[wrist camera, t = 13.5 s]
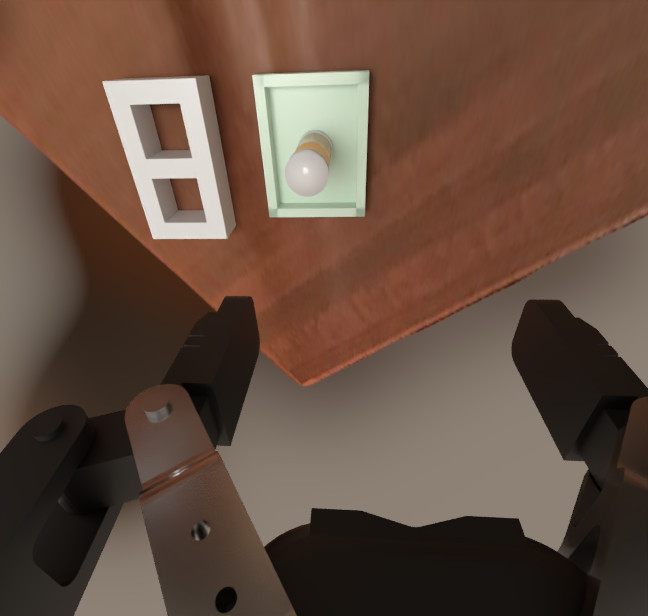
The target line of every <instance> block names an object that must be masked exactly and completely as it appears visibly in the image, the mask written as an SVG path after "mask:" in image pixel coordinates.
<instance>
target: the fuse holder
mask: <svg viewBox="0 0 648 616" xmlns="http://www.w3.org/2000/svg"><path fill="white" fill-rule="evenodd" d="M102 82H103V86H104V89H105V92H106V95H107V98H108V101H109V104H110V107H111V110H112V113H113V116H114V119H115V123H116V126H117V129H118V132H119V135H120V138H121V141H122V144H123V147H124V150H125V153H126V156H127V160H128V163H129V166H130V169H131V172H132V175H133V178H134V181H135V184H136V187H137V190H138V193H139V197H140V200H141V203H142V206H143V209H144V212H145V215H146V218H147V221H148V224H149V227H150V230H151V234H152V237H153V239H227V238H228V237H229V235H230V234H231V232H232V231H233V229H234V228H235V226H236V222H235V216H234V211H233V205H232V199H231V194H230V188H229V183H228V177H227V172H226V166H225V161H224V155H223V149H222V144H221V138H220V133H219V127H218V122H217V116H216V111H215V105H214V99H213V94H212V88H211V83H210V77H209V75H205V76H178V77H150V78H123V79H116V80H108V81H102ZM175 103H180V106H181V111H182V115H183V119H184V124H185V128H186V133H187V137H188V141H189V146H190V150H162V148H161V145H160V141H159V137H158V133H157V130H156V126H155V122H154V119H153V115H152V111H151V107H150V104H175ZM170 178H197V181H198V185H199V190H200V194H201V199H202V203H203V207H204V210H178V208H177V204H176V200H175V197H174V193H173V189H172V185H171V182H170Z"/></svg>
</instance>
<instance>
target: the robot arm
mask: <svg viewBox="0 0 648 616" xmlns="http://www.w3.org/2000/svg"><path fill="white" fill-rule="evenodd" d="M259 348H260V338H259V331H258V325H257V320H256V314H255V308H254V303H253V299H252V297H250V296H226V297H225V298H224V300H223V302H222V304H221V306H220V307H219V309H218V311H217V312H209V313H207V314H206V315H205V316H204V317H202V318H201V319H200V320H199V321H197V322H196V323H195V325H194V327H193V329H192V330H191V332H190V334H189V337H188V338H187V339H186V341H185V343H184V344H183V348H181V349H180V351H179V353H178V355H177V357H176V358H175V360H174V362H173V364H172V365H171V367H170V369H169V370H168V372H167V374H166V376H165V378H164V379H163V381H162V383H161V384H160V385H158V386H155V387H152V388H150V389H147V390H146V391H144V392H142V393H141V394H139V395H138V396H137V397H136V398H135V399H134V400H132V402H131V403H130V404H129V406H128V407H127V409H126V410H123V411H119V412H114V413H110V414H106V415H101V416H97V417H92V418H89V417H88V416H87V415H86V413H85V411H84V410H83V409H82V408H81V407H79V406H75V405H62V406H57V407H54V408H51V409H48V410H46V411H44V412H42V413H40V414H38V415H36V416H35V417H33V418H32V419H31V420H29V421H28V422H27V423H26V424H25V425H23V426H22V427H21V429H20V430H19V431H18V432H17V433H16V435H15V436H14V437H13V438H12V439H11V441H10V442H9V443H8V444H7V446H6V447H5V448H4V449H3V451H2V452H1V453H0V616H74V614H75V611H76V609H77V607H78V605H79V602H80V600H81V598H82V595H83V593H84V591H85V589H86V587H87V584H88V582H89V580H90V578H91V575H92V573H93V571H94V569H95V566H96V564H97V562H98V560H99V557H100V555H101V553H102V551H103V548H104V546H105V544H106V541H107V539H108V537H109V535H110V533H111V530H112V528H113V526H114V524H115V521H116V519H117V517H118V515H119V513H120V510H121V508H122V506H123V503H124V502H128V501H131V500H135V499H139V500H140V505H141V509H142V514H143V518H144V522H145V526H146V530H147V534H148V538H149V542H150V546H151V550H152V554H153V558H154V562H155V566H156V570H157V574H158V579H159V583H160V587H161V591H162V594H163V599H164V603H165V607H166V611H167V615H168V616H648V388H647V387H646V386H645V385H644V383H643V382H642V381H641V380H640V379H639V378H638V376H637V375H636V374H635V373H634V372H633V371H632V369H631V368H630V367H629V366H628V365H627V364H626V363H625V361H624V360H623V359H622V358H621V357H618V353H617V352H616V351H615V350H614V349H613V348H612V346H609V345H608V342H607V341H606V339H605V338H604V337H603V336H602V335H601V334H600V333H599V331H598V330H597V329H596V328H594V327H592V326H591V325H589V324H588V323H586V322H585V321H583V320H582V319H580V318H575V317H574V316H573V315H572V314H571V313H570V311H569V310H568V309H567V307H566V306H565V305H564V304H563V303H562V302H561V301H560V300H529V301H527V303H526V304H525V306H524V309H523V312H522V315H521V318H520V320H519V323H518V327H517V329H516V332H515V335H514V338H513V342H512V358H513V361H514V363H515V365H516V367H517V369H518V371H519V373H520V375H521V376H522V379H523V381H524V383H525V385H526V387H527V389H528V391H529V393H530V395H531V396H532V399H533V401H534V402H535V404H536V406H537V408H538V410H539V412H540V414H541V416H542V418H543V420H544V422H545V424H546V426H547V428H548V430H549V432H550V434H551V436H552V438H553V440H554V442H555V444H556V446H557V448H558V450H559V451H560V453H561V455H562V458H563V459H564V460H569V461H570V460H571V461H585V463H586V465H587V466H588V468H589V469H588V470H587V472H586V474H585V475H584V478H583V480H582V484H581V487H580V490H579V493H578V497H577V500H576V503H575V506H574V509H573V512H572V515H571V519H570V522H569V525H568V528H567V531H566V534H565V537H564V539H563V542H562V544H561V546H560V548H559V550H558V551H555V550H553V549H551V548H550V547H548V546H546V545H544V544H542V543H540V542H537V541H535V540H533V539H530V538H528V537H525V535H524V533H523V530H522V527H521V524H520V521H519V519H514V518H495V517H473V516H465V517H460V518H456V519H452V520H447V521H443V522H439V523H435V524H431V525H426V526H422V527H410V526H407V525H404V524H401V523H398V522H395V521H391V520H388V519H385V518H382V517H379V516H376V515H373V514H369V513H367V512H363V511H357V510H337V509H316V508H312V511H311V522H310V524H306V525H301V526H299V527H296V528H294V529H291V530H289V531H287V532H285V533H283V534H281V535H279V536H278V537H276V538H275V539H274V540H272V541H271V542H269V543H268V544H267V545H266V546H265V547H264V546H263V544H262V542H261V540H260V538H259V536H258V534H257V532H256V529H255V527H254V525H253V523H252V521H251V519H250V517H249V515H248V513H247V511H246V509H245V506H244V505H243V502H242V500H241V498H240V496H239V494H238V492H237V490H236V488H235V486H234V484H233V481H232V479H231V477H230V475H229V473H228V471H227V469H226V467H225V465H224V463H223V461H222V459H221V457H220V455H219V453H218V452H217V451H215V449H216V446H217V445H220V446H231V442H232V439H233V436H234V433H235V429H236V426H237V423H238V420H239V417H240V413H241V410H242V407H243V403H244V400H245V397H246V394H247V391H248V387H249V384H250V381H251V377H252V375H253V371H254V368H255V365H256V362H257V358H258V355H259Z"/></svg>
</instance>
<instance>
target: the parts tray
mask: <svg viewBox="0 0 648 616" xmlns="http://www.w3.org/2000/svg"><path fill="white" fill-rule="evenodd" d="M252 77H253V85H254V93H255V101H256V109H257V118H258V126H259V134H260V142H261V150H262V158H263V166H264V175H265V183H266V191H267V199H268V207H269V215H270V217H365V194H366V163H367V132H368V101H369V70H345V71H317V72H289V73H261V74H255V75H252ZM311 130H320V131H322V132H324V133H326V134H327V135H328V136H329V137H330V139H331V141H332V144H333V155H332V158H331V161H330V165H329V177H328V182H327V184H326V186H325V188H324V189H323V190H322V191H321V192H320V193H319V194H317V195H315V196H311V197H304V196H300V195H298V194H296V193H295V192H293V191H292V190H291V189H290V187H289V186H288V184H287V182H286V179H285V167H286V164H287V162H288V160H289V159H290V157H291V156H292V155H293V154H294V152H295V150H296V148H297V146H298V143H299V141H300V139H301V137H302V136H303V135H304V134H305V133H307V132H308V131H311Z"/></svg>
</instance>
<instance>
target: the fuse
mask: <svg viewBox="0 0 648 616" xmlns="http://www.w3.org/2000/svg"><path fill="white" fill-rule="evenodd" d="M332 155H333V144H332V141H331V139H330V137H329V136H328V135H327V134H326V133H324V132H322V131H320V130H311V131H308V132H307V133H305V134H304V135H303V136H302V137H301V139H300V141H299V143H298V146H297V148H296V150H295V152H294V154H293V155H292V156H291V157H290V159H289V160H288V162H287V164H286V167H285V179H286V182H287V184H288V186H289V187H290V189H291V190H292V191H293V192H295V193H296V194H298V195H300V196H304V197H311V196H315V195H317V194H319V193H320V192H321V191H322V190H323V189H324V188H325V186H326V184H327V182H328V177H329V165H330V161H331V158H332Z"/></svg>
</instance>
